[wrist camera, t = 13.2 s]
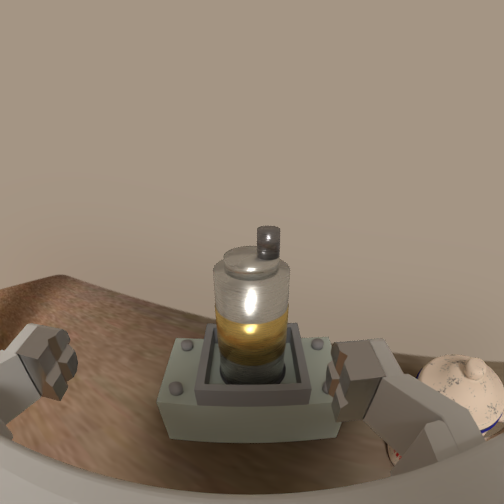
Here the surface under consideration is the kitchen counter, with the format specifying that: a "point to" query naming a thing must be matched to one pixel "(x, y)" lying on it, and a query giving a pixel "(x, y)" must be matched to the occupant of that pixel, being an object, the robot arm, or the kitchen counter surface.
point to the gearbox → (247, 395)
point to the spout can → (252, 310)
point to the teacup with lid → (465, 390)
